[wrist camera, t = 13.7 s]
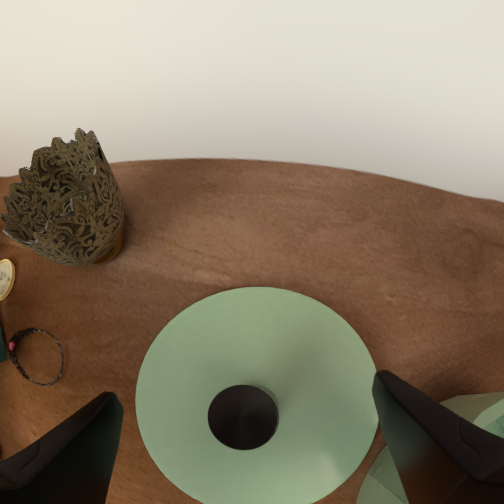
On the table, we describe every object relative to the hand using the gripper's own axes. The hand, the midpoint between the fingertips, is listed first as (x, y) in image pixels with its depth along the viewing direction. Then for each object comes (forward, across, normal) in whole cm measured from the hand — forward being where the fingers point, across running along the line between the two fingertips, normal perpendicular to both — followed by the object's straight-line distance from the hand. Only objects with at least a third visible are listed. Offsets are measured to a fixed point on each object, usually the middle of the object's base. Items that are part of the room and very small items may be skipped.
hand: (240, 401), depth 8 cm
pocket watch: (+11, +23, -2) cm, 26 cm away
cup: (+12, +10, -3) cm, 16 cm away
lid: (+4, 0, +4) cm, 6 cm away
